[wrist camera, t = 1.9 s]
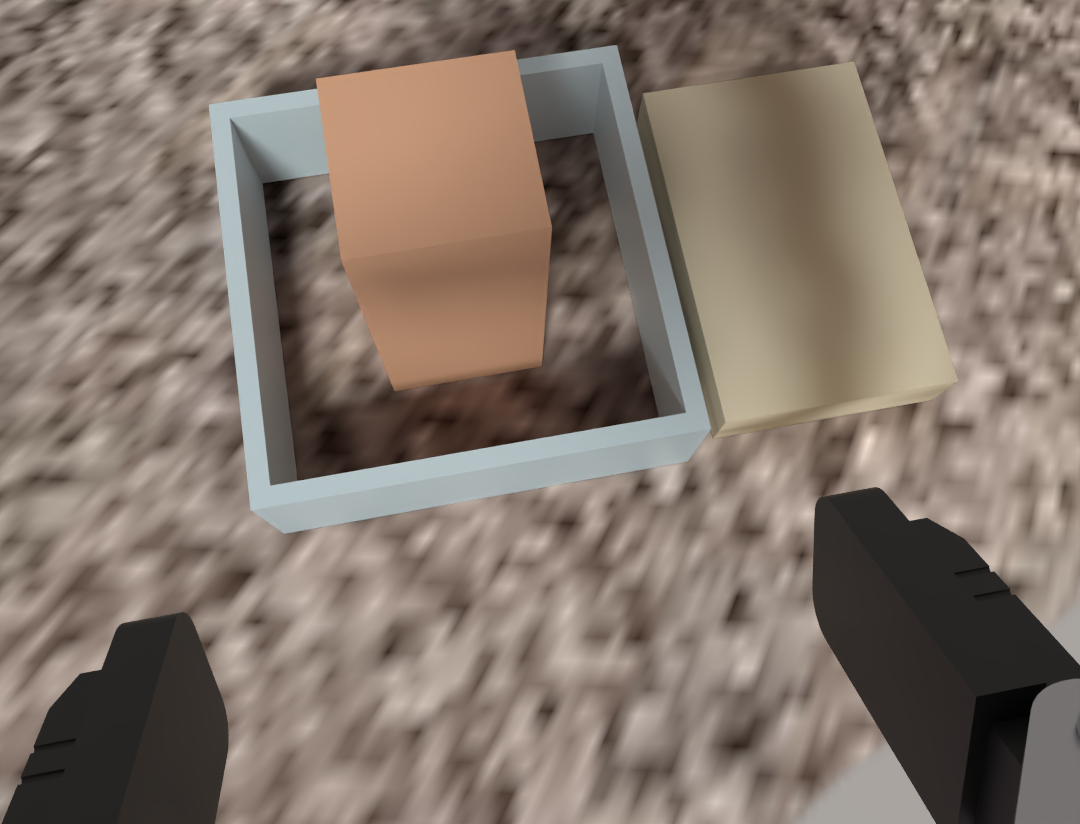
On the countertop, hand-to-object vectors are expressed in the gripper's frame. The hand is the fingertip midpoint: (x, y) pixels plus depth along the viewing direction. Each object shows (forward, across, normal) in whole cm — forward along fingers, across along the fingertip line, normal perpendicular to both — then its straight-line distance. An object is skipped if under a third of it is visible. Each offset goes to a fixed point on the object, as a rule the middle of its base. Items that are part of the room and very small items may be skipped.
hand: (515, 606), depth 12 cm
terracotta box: (+21, 0, +4) cm, 21 cm away
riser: (+21, -11, +4) cm, 24 cm away
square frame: (+21, 0, +4) cm, 21 cm away
